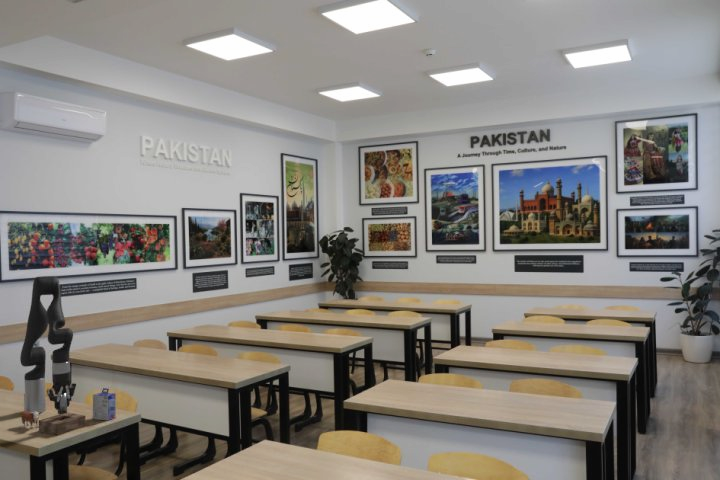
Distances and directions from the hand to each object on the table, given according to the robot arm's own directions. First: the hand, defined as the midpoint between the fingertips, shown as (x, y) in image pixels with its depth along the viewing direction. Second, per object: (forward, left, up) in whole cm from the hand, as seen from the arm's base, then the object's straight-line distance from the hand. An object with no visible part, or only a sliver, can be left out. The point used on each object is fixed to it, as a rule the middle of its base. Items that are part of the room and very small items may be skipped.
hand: (62, 407), depth 268 cm
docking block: (0, 0, -10) cm, 10 cm away
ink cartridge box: (+5, +19, -10) cm, 22 cm away
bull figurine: (-16, -5, -10) cm, 19 cm away
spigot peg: (0, 0, -2) cm, 2 cm away
